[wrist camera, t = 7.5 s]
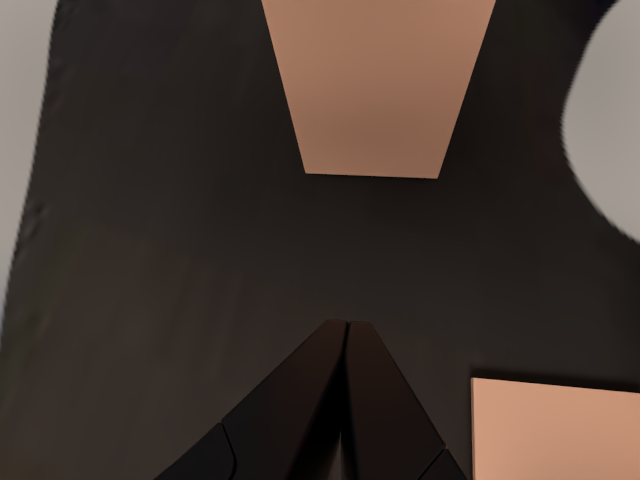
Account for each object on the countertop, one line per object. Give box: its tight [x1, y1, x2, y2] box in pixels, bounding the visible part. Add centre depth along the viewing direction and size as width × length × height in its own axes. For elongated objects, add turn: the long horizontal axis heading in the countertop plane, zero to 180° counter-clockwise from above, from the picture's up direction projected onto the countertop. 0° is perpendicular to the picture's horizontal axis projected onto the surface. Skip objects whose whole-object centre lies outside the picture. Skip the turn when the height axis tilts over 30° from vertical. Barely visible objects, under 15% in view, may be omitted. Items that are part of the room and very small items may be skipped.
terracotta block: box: [262, 0, 496, 178], centre depth 16 cm, size 6×6×10 cm
